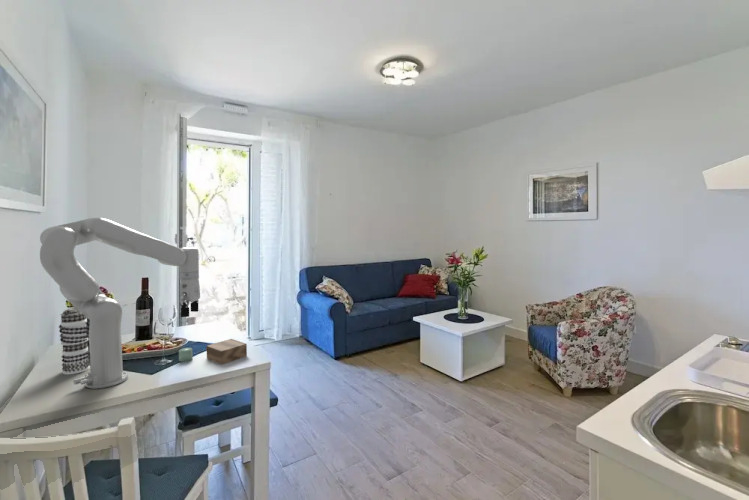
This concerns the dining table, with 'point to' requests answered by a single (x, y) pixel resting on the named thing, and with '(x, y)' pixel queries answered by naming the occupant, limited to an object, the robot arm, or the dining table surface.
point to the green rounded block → (185, 354)
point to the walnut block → (226, 351)
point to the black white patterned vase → (74, 341)
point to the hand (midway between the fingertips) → (190, 314)
